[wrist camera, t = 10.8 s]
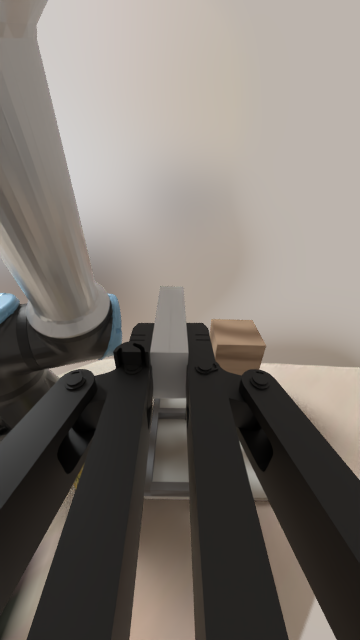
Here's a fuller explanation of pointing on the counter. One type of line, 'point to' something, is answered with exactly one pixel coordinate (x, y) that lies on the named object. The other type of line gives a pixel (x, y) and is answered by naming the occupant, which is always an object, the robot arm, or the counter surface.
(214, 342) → the walnut block
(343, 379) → the counter surface
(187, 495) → the grey flat tray
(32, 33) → the robot arm
